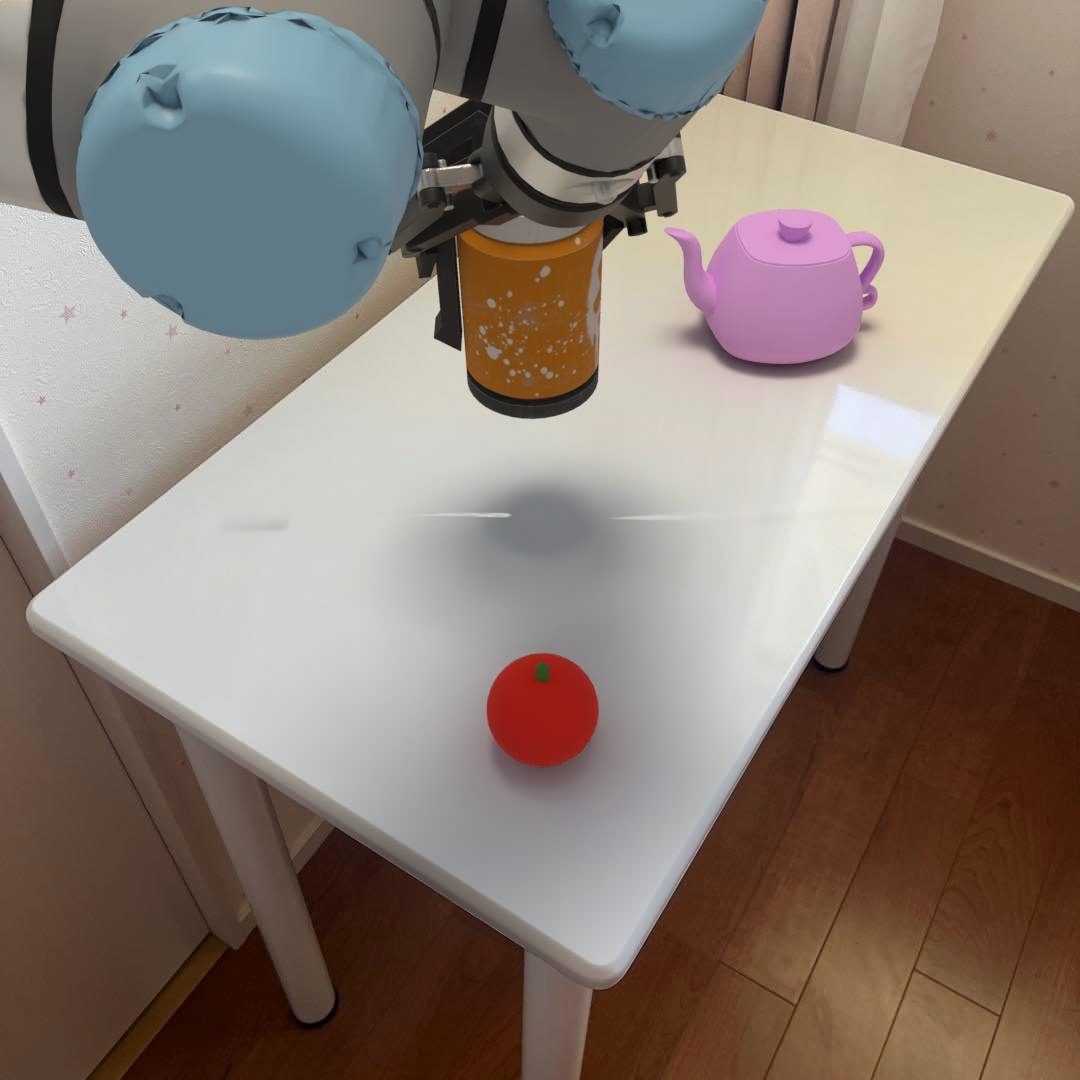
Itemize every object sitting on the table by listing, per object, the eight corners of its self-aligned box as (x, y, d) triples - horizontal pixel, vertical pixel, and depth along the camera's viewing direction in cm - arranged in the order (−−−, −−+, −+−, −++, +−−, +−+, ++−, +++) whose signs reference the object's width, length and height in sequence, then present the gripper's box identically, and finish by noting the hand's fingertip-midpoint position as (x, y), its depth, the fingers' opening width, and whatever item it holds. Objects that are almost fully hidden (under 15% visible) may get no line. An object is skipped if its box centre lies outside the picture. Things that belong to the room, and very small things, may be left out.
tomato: (485, 786, 69) (479, 713, 63) (491, 694, 74) (487, 618, 68) (597, 789, 69) (602, 716, 63) (596, 696, 74) (600, 620, 68)
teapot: (847, 284, 106) (873, 170, 97) (892, 370, 97) (926, 254, 88) (642, 298, 105) (650, 184, 96) (668, 387, 96) (680, 270, 87)
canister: (601, 426, 73) (612, 137, 58) (433, 429, 73) (402, 141, 58) (595, 343, 79) (603, 64, 64) (440, 346, 79) (414, 67, 64)
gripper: (332, 241, 48) (338, 328, 69) (828, 176, 51) (686, 278, 73) (301, 67, 47) (317, 209, 69) (802, 14, 51) (667, 165, 73)
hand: (507, 245), depth 71 cm, fingers closed on canister, 10 cm apart
